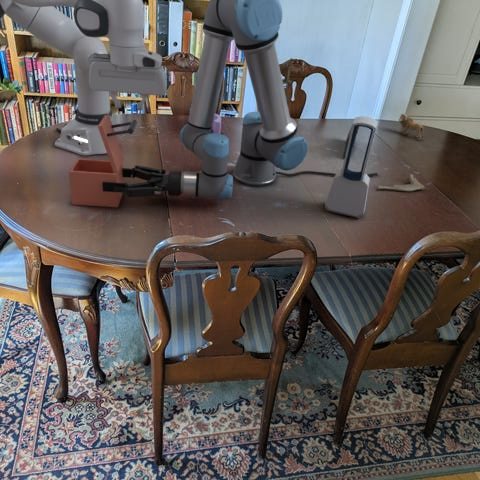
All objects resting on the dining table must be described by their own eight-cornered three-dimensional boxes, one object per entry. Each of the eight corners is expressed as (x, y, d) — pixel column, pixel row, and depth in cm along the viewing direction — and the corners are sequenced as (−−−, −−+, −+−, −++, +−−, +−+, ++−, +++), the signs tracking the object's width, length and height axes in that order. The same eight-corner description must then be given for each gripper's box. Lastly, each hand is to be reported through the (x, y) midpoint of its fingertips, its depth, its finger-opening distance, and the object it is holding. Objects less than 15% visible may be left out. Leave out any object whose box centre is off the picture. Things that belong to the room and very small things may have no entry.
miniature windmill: (286, 130, 210) (297, 60, 194) (268, 127, 211) (277, 58, 195) (288, 124, 218) (299, 56, 202) (271, 121, 219) (279, 54, 203)
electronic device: (364, 210, 152) (388, 120, 136) (361, 221, 146) (387, 128, 130) (327, 201, 155) (346, 112, 139) (322, 211, 149) (342, 119, 133)
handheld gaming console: (349, 160, 187) (354, 136, 182) (342, 158, 188) (347, 134, 183) (355, 142, 206) (361, 119, 201) (349, 140, 207) (354, 118, 201)
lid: (97, 126, 126) (128, 120, 125) (104, 115, 134) (134, 109, 133) (113, 173, 133) (143, 167, 133) (119, 159, 141) (147, 154, 141)
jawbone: (429, 189, 172) (431, 184, 171) (394, 201, 161) (396, 196, 160) (410, 177, 177) (412, 172, 176) (375, 189, 167) (376, 184, 165)
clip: (182, 123, 206) (183, 107, 202) (209, 122, 210) (210, 106, 207) (197, 140, 191) (197, 123, 187) (225, 138, 195) (226, 122, 191)
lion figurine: (393, 132, 222) (398, 113, 217) (398, 130, 225) (403, 111, 221) (423, 141, 214) (429, 122, 210) (427, 139, 218) (433, 120, 213)
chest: (72, 204, 138) (68, 171, 133) (80, 190, 146) (77, 158, 140) (117, 207, 139) (116, 174, 134) (123, 192, 147) (121, 161, 142)
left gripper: (83, 54, 117) (87, 109, 125) (165, 62, 119) (165, 115, 126) (89, 49, 122) (93, 102, 130) (167, 56, 124) (167, 108, 132)
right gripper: (178, 212, 134) (99, 207, 132) (183, 179, 152) (114, 174, 151) (179, 189, 130) (97, 184, 128) (184, 157, 148) (112, 152, 147)
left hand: (129, 108), depth 128 cm, fingers open, 5 cm apart
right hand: (106, 178), depth 139 cm, fingers closed on chest, 9 cm apart
